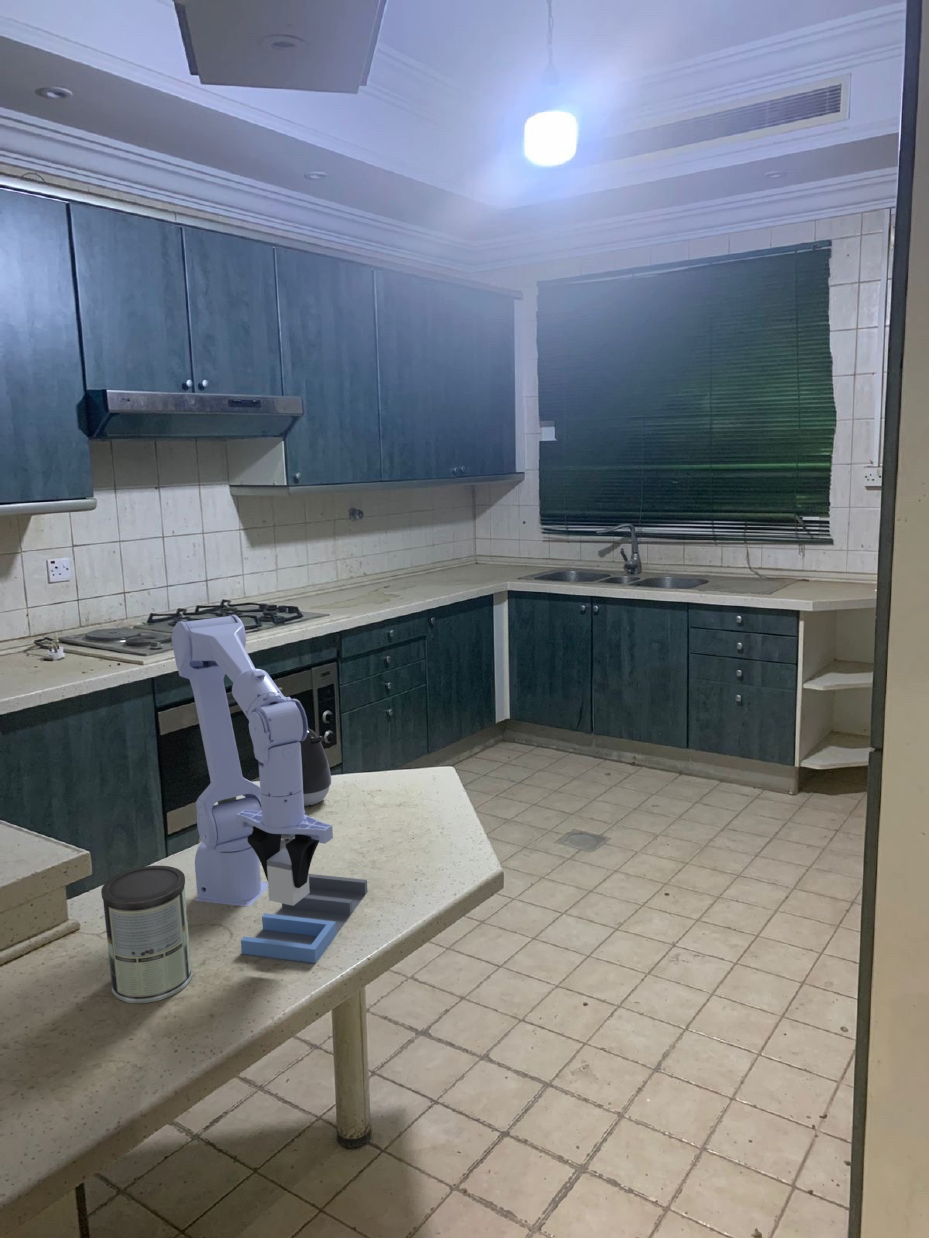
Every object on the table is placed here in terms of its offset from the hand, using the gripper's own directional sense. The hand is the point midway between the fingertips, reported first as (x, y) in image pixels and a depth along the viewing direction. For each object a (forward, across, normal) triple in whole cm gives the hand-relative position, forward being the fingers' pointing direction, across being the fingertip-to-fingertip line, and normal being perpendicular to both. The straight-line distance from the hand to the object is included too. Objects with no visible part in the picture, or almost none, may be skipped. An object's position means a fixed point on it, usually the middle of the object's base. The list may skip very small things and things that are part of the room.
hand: (287, 881), depth 127 cm
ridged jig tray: (+10, +1, -6) cm, 12 cm away
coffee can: (+10, +12, +14) cm, 21 cm away
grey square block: (+2, 0, 0) cm, 2 cm away
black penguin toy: (+10, +28, -46) cm, 55 cm away
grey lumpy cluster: (+10, +21, -27) cm, 36 cm away
